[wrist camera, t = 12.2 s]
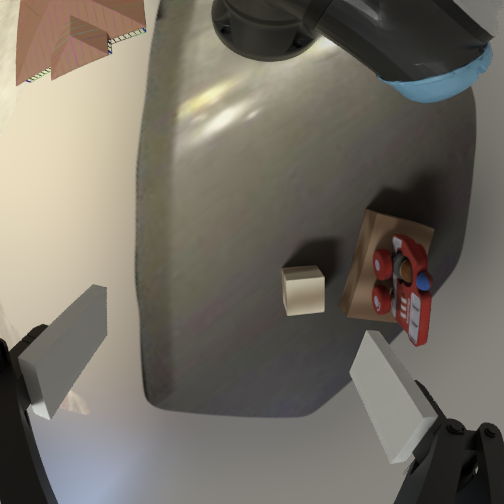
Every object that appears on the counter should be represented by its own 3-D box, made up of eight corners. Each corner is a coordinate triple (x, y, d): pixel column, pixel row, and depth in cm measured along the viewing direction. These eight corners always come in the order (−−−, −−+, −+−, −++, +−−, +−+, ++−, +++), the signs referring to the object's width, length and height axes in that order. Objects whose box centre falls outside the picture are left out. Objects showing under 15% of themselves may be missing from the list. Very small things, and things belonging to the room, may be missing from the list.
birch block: (281, 267, 44) (286, 280, 39) (316, 264, 44) (324, 277, 39) (283, 299, 46) (287, 315, 41) (316, 296, 46) (324, 311, 41)
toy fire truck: (414, 227, 39) (458, 247, 29) (410, 307, 42) (445, 342, 32) (370, 232, 39) (407, 255, 29) (369, 316, 42) (399, 355, 32)
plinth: (365, 208, 42) (377, 213, 38) (421, 223, 43) (434, 229, 39) (339, 304, 46) (346, 317, 42) (393, 312, 47) (403, 323, 43)
